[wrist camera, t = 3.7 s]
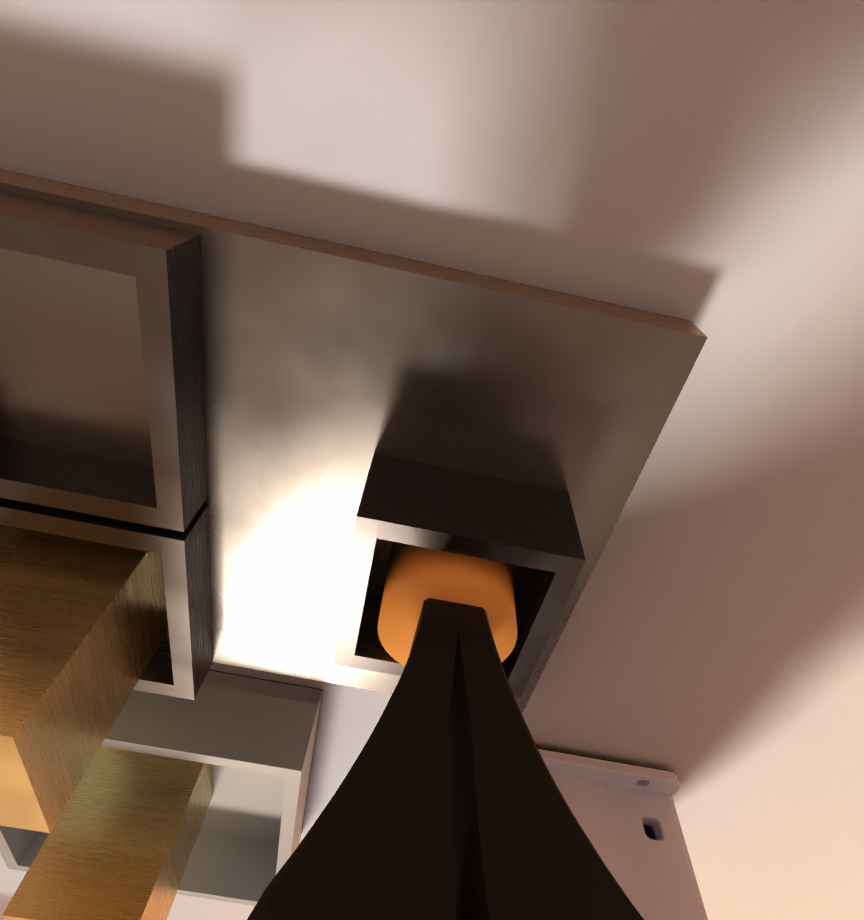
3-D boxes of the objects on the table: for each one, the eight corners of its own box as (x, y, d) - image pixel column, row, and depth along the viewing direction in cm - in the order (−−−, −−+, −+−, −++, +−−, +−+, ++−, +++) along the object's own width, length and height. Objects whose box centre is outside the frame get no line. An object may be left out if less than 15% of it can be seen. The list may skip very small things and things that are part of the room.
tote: (322, 690, 21) (301, 770, 18) (300, 835, 27) (283, 910, 25) (-6, 632, 20) (-75, 709, 17) (52, 795, 26) (8, 868, 24)
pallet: (691, 321, 12) (760, 388, 10) (518, 690, 20) (526, 791, 17) (-236, 117, 11) (-483, 120, 8) (-49, 589, 19) (-145, 678, 16)
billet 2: (211, 745, 22) (134, 934, 17) (213, 794, 24) (145, 975, 19) (110, 728, 22) (1, 914, 17) (121, 780, 24) (27, 959, 19)
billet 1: (161, 532, 16) (12, 737, 10) (170, 626, 18) (50, 833, 13) (16, 505, 15) (-208, 701, 10) (42, 603, 17) (-132, 805, 12)
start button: (525, 524, 14) (535, 598, 12) (493, 610, 16) (496, 687, 14) (401, 500, 14) (389, 571, 12) (382, 589, 16) (369, 664, 13)
